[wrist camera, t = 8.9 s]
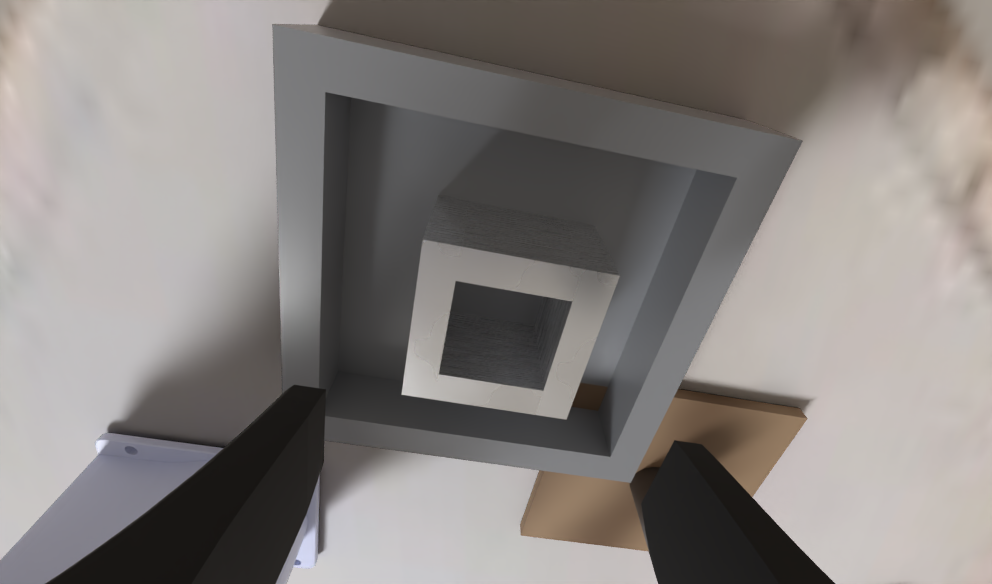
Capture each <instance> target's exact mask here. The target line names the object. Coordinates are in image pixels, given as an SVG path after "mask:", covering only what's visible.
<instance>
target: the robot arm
mask: <svg viewBox="0 0 992 584" xmlns="http://www.w3.org/2000/svg"><path fill="white" fill-rule="evenodd" d="M325 405H326V389H321V388H314V387H307V386H300V385H293V386H291V387H290V388H288V389H287V390H286V391H285V392H284V393H283V394H282V395H281V396H280V397H279V398H278V399H277V400H276V401H275V402H274V403H273V404H272V405H271V406H269V407H268V408H267V409H266V410H265V411H264V412H263V413H262V414H261V415H260V416H259V417H258V418H257V419H256V420H255V421H254V422H252V423H251V424H250V425H249V426H248V427H247V428H246V429H245V430H244V431H243V432H241V433H240V434H239V435H238V436H237V437H236V438H235V439H234V440H233V441H231V442H230V443H229V444H228V445H227V446H226V447H224V448H219V447H211V446H204V445H196V444H189V443H182V442H174V441H167V440H159V439H152V438H144V437H137V436H129V435H122V434H114V433H105V434H102V435H101V436H100V437H99V438H98V439H97V441H96V442H95V445H96V449H97V452H98V456H97V457H96V458H95V459H94V460H93V461H92V462H91V463H90V464H89V465H88V466H87V468H86V469H85V470H84V471H83V472H82V473H81V474H80V475H79V476H78V477H77V478H76V479H75V480H74V482H73V483H72V484H71V485H70V486H69V487H68V488H67V489H66V490H65V491H64V492H63V493H62V494H61V496H60V497H59V498H58V499H57V500H56V501H55V502H54V503H53V504H52V505H51V506H50V507H49V508H48V510H47V511H46V512H45V513H44V514H43V515H42V516H41V517H40V518H39V519H38V520H37V521H36V523H35V524H34V525H33V526H32V527H31V528H30V529H29V530H28V531H27V532H26V533H25V534H24V535H23V537H22V538H21V539H20V540H19V541H18V542H17V543H16V544H15V545H14V546H13V547H12V548H11V549H10V551H9V552H8V553H7V554H6V555H5V556H4V557H3V558H2V559H1V560H0V584H287V582H288V579H289V576H290V574H291V571H292V568H293V567H297V568H312V567H314V566H315V564H316V562H317V559H318V527H319V490H320V472H321V468H322V465H323V462H324V435H325ZM641 507H642V513H643V519H644V526H645V532H646V537H647V542H648V548H649V553H650V557H651V560H652V564H653V567H654V571H655V574H656V578H657V581H658V584H835V583H834V582H833V581H832V580H831V579H830V578H829V577H828V576H827V575H826V574H825V573H824V572H823V571H822V570H821V569H820V568H819V567H818V566H817V565H816V564H815V563H814V562H813V561H812V560H811V559H810V558H809V557H808V556H807V555H806V554H805V553H804V552H803V551H802V550H801V549H800V548H799V547H798V546H797V545H796V544H795V543H794V541H793V540H792V539H791V538H790V537H789V536H788V535H787V534H786V533H785V532H784V531H783V530H782V529H781V528H780V527H779V526H778V525H777V524H776V522H775V521H774V520H773V519H772V518H771V517H770V516H769V515H768V514H767V513H766V512H765V511H764V510H763V509H762V507H761V506H760V505H759V504H758V503H757V502H756V501H755V500H754V499H753V498H752V497H751V496H750V494H749V493H748V492H747V491H746V490H745V489H744V488H743V487H742V486H741V485H740V484H739V483H738V481H737V480H736V479H735V478H734V477H733V476H732V475H731V474H730V473H729V472H728V471H727V470H726V469H725V467H724V466H723V465H722V464H721V463H720V462H719V461H718V460H717V459H716V458H715V457H714V456H713V455H712V454H711V453H710V452H709V451H708V450H707V449H706V448H705V447H704V446H703V445H702V444H697V443H690V442H683V441H676V440H674V442H673V444H672V446H671V448H670V450H669V452H668V453H667V455H666V457H665V459H664V461H663V463H662V465H661V467H660V469H659V470H658V472H657V474H656V476H655V478H654V480H653V482H652V484H651V486H650V487H649V489H648V491H647V493H646V495H645V497H644V499H643V501H642V503H641Z"/></svg>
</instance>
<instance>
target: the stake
mask: <svg viewBox="0 0 992 584" xmlns="http://www.w3.org/2000/svg"><path fill="white" fill-rule="evenodd" d="M598 387H599V388H598ZM607 388H608V387H605V386H598V385H592V384H586V383H580V384H579V387H578V390H577V393H576V395H575V398H574V401H573V403H572V406H571V407H576V408H580V407H581V408H583V409H589V410H596V411H598V410H599V408H600V405H601V403H602V400H603V398H604V396H605V393H606V391H607ZM601 390H602V391H601ZM601 393H602V394H601ZM602 395H603V396H602ZM590 396H591V397H590ZM582 397H583V398H582ZM578 398H579V399H578ZM586 399H587V400H586ZM588 399H589V400H588ZM582 400H583V401H582ZM598 400H599V401H598ZM579 404H580V405H579ZM806 420H807V417H806V416H805V415H804V413H803V412H802V411H801V410H800V408H794V407H787V406H781V405H775V404H769V403H762V402H756V401H750V400H744V399H737V398H731V397H725V396H719V395H712V394H706V393H700V392H694V391H687V390H681V389H678V390H677V392H676V394H675V396H674V398H673V400H672V402H671V404H670V406H669V408H668V410H667V412H666V414H665V416H664V418H663V420H662V422H661V424H660V426H659V428H658V430H657V432H656V434H655V436H654V438H653V440H652V442H651V444H650V446H649V448H648V450H647V452H646V454H645V455H644V457H643V459H642V461H641V463H640V465H639V467H638V469H637V471H636V473H635V475H634V477H633V479H632V481H631V483H628V482H621V481H614V480H607V479H599V478H592V477H585V476H578V475H570V474H563V473H556V472H549V471H541V470H539V473H538V476H537V479H536V482H535V484H534V487H533V490H532V493H531V496H530V499H529V501H528V504H527V507H526V510H525V513H524V515H523V518H522V521H521V524H520V528H521V535H522V536H530V537H538V538H546V539H554V540H562V541H570V542H578V543H586V544H595V545H603V546H611V547H619V548H627V549H635V550H643V551H649V548H648V542H647V537H646V532H645V526H644V519H643V513H642V507H641V503H642V501H643V499H644V497H645V495H646V493H647V491H648V489H649V487H650V486H651V484H652V482H653V480H654V478H655V476H656V474H657V472H658V470H659V469H660V467H661V465H662V463H663V461H664V459H665V457H666V455H667V453H668V452H669V450H670V448H671V446H672V444H673V442H674V440H676V441H683V442H690V443H697V444H702V445H703V446H704V447H705V448H706V449H707V450H708V451H709V452H710V453H711V454H712V455H713V456H714V457H715V458H716V459H717V460H718V461H719V462H720V463H721V464H722V465H723V466H724V467H725V469H726V470H727V471H728V472H729V473H730V474H731V475H732V476H733V477H734V478H735V479H736V480H737V481H738V483H739V484H740V485H741V486H742V487H743V488H744V489H745V490H746V491H747V492H748V493H749V494H750V496H751V497H753V495H754V494H755V492H756V491H757V490H758V488H759V487H760V485H761V484H762V482H763V481H764V480H765V478H766V477H767V475H768V474H769V473H770V471H771V470H772V468H773V467H774V465H775V464H776V463H777V461H778V460H779V458H780V457H781V455H782V454H783V453H784V451H785V450H786V448H787V447H788V446H789V444H790V443H791V441H792V440H793V438H794V437H795V436H796V434H797V433H798V431H799V430H800V429H801V427H802V426H803V424H804V423H805V421H806ZM649 554H650V553H649ZM651 561H652V560H651ZM653 568H654V567H653ZM655 575H656V574H655Z"/></svg>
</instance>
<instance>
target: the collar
mask: <svg viewBox="0 0 992 584" xmlns="http://www.w3.org/2000/svg"><path fill="white" fill-rule="evenodd" d="M619 277H620V275H619V273H618V271H617V269H616V267H615V265H614V263H613V261H612V259H611V257H610V255H609V253H608V251H607V249H606V247H605V245H604V243H603V241H602V239H601V237H600V235H599V233H598V231H597V229H596V227H595V226H594V225H589V224H584V223H579V222H574V221H569V220H564V219H558V218H553V217H548V216H543V215H538V214H533V213H528V212H522V211H517V210H512V209H507V208H502V207H497V206H491V205H486V204H481V203H476V202H471V201H466V200H461V199H455V198H450V197H445V196H440V195H438V196H437V199H436V202H435V205H434V208H433V211H432V214H431V217H430V220H429V223H428V225H427V228H426V231H425V234H424V237H423V241H422V248H421V256H420V263H419V270H418V277H417V285H416V292H415V299H414V307H413V314H412V321H411V329H410V336H409V343H408V351H407V358H406V365H405V372H404V380H403V387H402V394H401V395H407V396H414V397H420V398H427V399H434V400H440V401H447V402H453V403H460V404H467V405H473V406H480V407H486V408H493V409H500V410H506V411H513V412H519V413H526V414H533V415H539V416H546V417H552V418H559V419H567V417H568V414H569V411H570V409H571V406H572V403H573V401H574V398H575V395H576V393H577V390H578V387H579V384H580V382H581V379H582V376H583V374H584V371H585V368H586V366H587V363H588V360H589V358H590V355H591V352H592V349H593V347H594V344H595V341H596V339H597V336H598V333H599V331H600V328H601V325H602V323H603V320H604V317H605V315H606V312H607V309H608V306H609V304H610V301H611V298H612V296H613V293H614V290H615V288H616V285H617V282H618V280H619ZM456 281H459V282H465V283H471V284H476V285H482V286H488V287H493V288H499V289H504V290H510V291H516V292H521V293H527V294H533V295H538V296H543V299H542V302H541V306H540V309H539V313H538V316H537V320H536V323H535V325H530V324H524V323H518V322H512V321H506V320H500V319H494V318H488V317H483V316H477V315H471V314H465V313H459V312H453V311H450V309H451V304H452V298H453V293H454V287H455V282H456Z"/></svg>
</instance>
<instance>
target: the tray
mask: <svg viewBox="0 0 992 584" xmlns="http://www.w3.org/2000/svg"><path fill="white" fill-rule="evenodd" d="M272 27H273V65H274V102H275V139H276V176H277V214H278V251H279V288H280V326H281V363H282V394H283V393H284V392H285V391H286V390H287V389H288V388H290V387H291V386H293V385H300V386H307V387H314V388H321V389H326V405H325V435H324V441H332V442H339V443H346V444H353V445H361V446H368V447H375V448H382V449H389V450H397V451H404V452H411V453H418V454H426V455H433V456H440V457H447V458H455V459H462V460H469V461H476V462H484V463H491V464H498V465H505V466H512V467H520V468H527V469H534V470H541V471H549V472H556V473H563V474H570V475H578V476H585V477H592V478H599V479H607V480H614V481H621V482H628V483H631V481H632V479H633V477H634V475H635V473H636V471H637V469H638V467H639V465H640V463H641V461H642V459H643V457H644V455H645V454H646V452H647V450H648V448H649V446H650V444H651V442H652V440H653V438H654V436H655V434H656V432H657V430H658V428H659V426H660V424H661V422H662V420H663V418H664V416H665V414H666V412H667V410H668V408H669V406H670V404H671V402H672V400H673V398H674V396H675V394H676V392H677V390H678V388H679V386H680V384H681V382H682V380H683V378H684V376H685V374H686V372H687V370H688V368H689V366H690V364H691V362H692V360H693V358H694V356H695V354H696V352H697V350H698V348H699V346H700V344H701V342H702V340H703V338H704V336H705V334H706V332H707V330H708V328H709V326H710V324H711V322H712V320H713V318H714V316H715V314H716V312H717V310H718V308H719V306H720V304H721V302H722V300H723V298H724V296H725V294H726V292H727V290H728V288H729V286H730V284H731V282H732V280H733V278H734V276H735V275H736V273H737V271H738V269H739V267H740V265H741V263H742V261H743V259H744V257H745V255H746V253H747V251H748V249H749V247H750V245H751V243H752V241H753V239H754V237H755V235H756V233H757V231H758V229H759V227H760V225H761V223H762V221H763V219H764V217H765V215H766V213H767V211H768V209H769V207H770V205H771V203H772V201H773V199H774V197H775V195H776V193H777V191H778V189H779V187H780V185H781V183H782V181H783V179H784V177H785V175H786V173H787V171H788V169H789V167H790V165H791V163H792V161H793V159H794V157H795V155H796V153H797V151H798V149H799V147H800V145H801V143H802V140H799V139H797V138H794V137H791V136H788V135H786V134H783V133H780V132H778V131H775V130H772V129H770V128H767V127H764V126H762V125H759V124H756V123H754V122H751V121H748V120H744V119H740V118H735V117H731V116H726V115H722V114H717V113H713V112H708V111H704V110H699V109H694V108H690V107H685V106H681V105H676V104H672V103H667V102H663V101H658V100H654V99H649V98H645V97H640V96H636V95H631V94H627V93H622V92H618V91H613V90H609V89H604V88H600V87H595V86H591V85H586V84H582V83H577V82H573V81H568V80H564V79H559V78H555V77H550V76H546V75H541V74H537V73H532V72H528V71H523V70H519V69H514V68H510V67H505V66H500V65H496V64H491V63H487V62H482V61H478V60H473V59H469V58H464V57H460V56H455V55H451V54H446V53H442V52H437V51H433V50H428V49H424V48H419V47H415V46H410V45H406V44H401V43H397V42H392V41H388V40H383V39H379V38H374V37H370V36H365V35H361V34H356V33H352V32H347V31H343V30H338V29H334V28H329V27H325V26H320V25H297V24H272ZM438 195H440V196H445V197H450V198H455V199H461V200H466V201H471V202H476V203H481V204H486V205H491V206H497V207H502V208H507V209H512V210H517V211H522V212H528V213H533V214H538V215H543V216H548V217H553V218H558V219H564V220H569V221H574V222H579V223H584V224H589V225H594V226H595V227H596V229H597V231H598V233H599V235H600V237H601V239H602V241H603V243H604V245H605V247H606V249H607V251H608V253H609V255H610V257H611V259H612V261H613V263H614V265H615V267H616V269H617V271H618V273H619V275H620V277H619V280H618V282H617V285H616V288H615V290H614V293H613V296H612V298H611V301H610V304H609V306H608V309H607V312H606V315H605V317H604V320H603V323H602V325H601V328H600V331H599V333H598V336H597V339H596V341H595V344H594V347H593V349H592V352H591V355H590V358H589V360H588V363H587V366H586V368H585V371H584V374H583V376H582V379H581V382H580V383H586V384H592V385H598V386H605V387H608V388H607V391H606V393H605V396H604V398H603V400H602V403H601V405H600V408H599V410H598V411H596V410H589V409H583V408H581V407H580V408H576V407H571V409H570V411H569V414H568V417H567V419H559V418H552V417H546V416H539V415H533V414H526V413H519V412H513V411H506V410H500V409H493V408H486V407H480V406H473V405H467V404H460V403H453V402H447V401H440V400H434V399H427V398H420V397H414V396H407V395H401V394H402V387H403V380H404V372H405V365H406V358H407V351H408V343H409V336H410V329H411V321H412V314H413V307H414V299H415V292H416V285H417V277H418V270H419V263H420V256H421V248H422V241H423V237H424V234H425V231H426V228H427V225H428V223H429V220H430V217H431V214H432V211H433V208H434V205H435V202H436V199H437V196H438ZM542 299H543V296H538V295H533V294H527V293H521V292H516V291H510V290H504V289H499V288H493V287H488V286H482V285H476V284H471V283H465V282H459V281H456V282H455V287H454V293H453V298H452V304H451V309H450V311H453V312H459V313H465V314H471V315H477V316H483V317H488V318H494V319H500V320H506V321H512V322H518V323H524V324H530V325H535V323H536V320H537V316H538V313H539V309H540V306H541V302H542ZM598 388H599V387H598ZM601 391H602V390H601ZM601 394H602V393H601ZM602 396H603V395H602ZM590 397H591V396H590ZM582 398H583V397H582ZM578 399H579V398H578ZM586 400H587V399H586ZM588 400H589V399H588ZM582 401H583V400H582ZM598 401H599V400H598ZM579 405H580V404H579Z"/></svg>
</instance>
